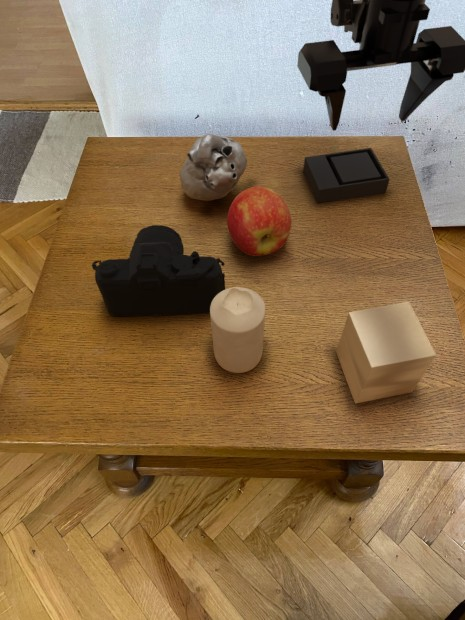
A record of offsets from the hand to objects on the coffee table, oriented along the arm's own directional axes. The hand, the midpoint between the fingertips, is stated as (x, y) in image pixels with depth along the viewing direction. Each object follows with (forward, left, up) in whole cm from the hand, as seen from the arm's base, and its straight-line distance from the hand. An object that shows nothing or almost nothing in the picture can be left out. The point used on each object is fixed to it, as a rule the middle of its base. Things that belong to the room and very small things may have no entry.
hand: (367, 123), depth 63 cm
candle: (+22, +24, -10) cm, 34 cm away
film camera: (+29, +13, -10) cm, 33 cm away
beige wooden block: (+8, +29, -10) cm, 32 cm away
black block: (0, -1, -10) cm, 10 cm away
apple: (+16, +8, -10) cm, 21 cm away
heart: (+20, -2, -10) cm, 23 cm away
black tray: (+1, -1, -10) cm, 10 cm away
